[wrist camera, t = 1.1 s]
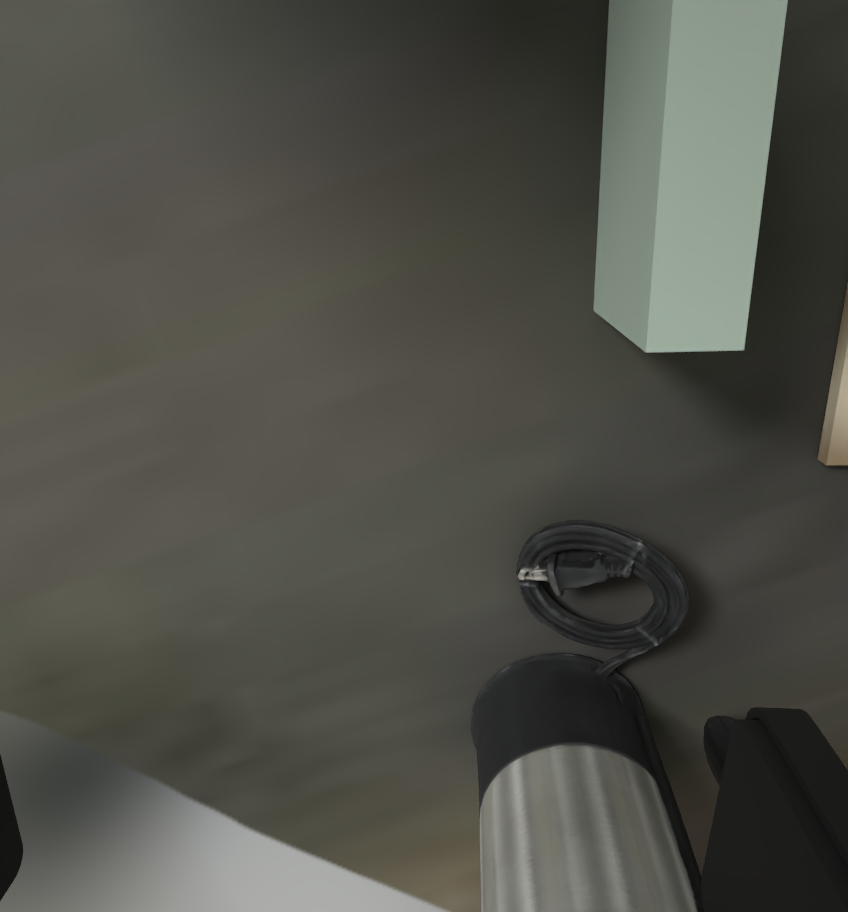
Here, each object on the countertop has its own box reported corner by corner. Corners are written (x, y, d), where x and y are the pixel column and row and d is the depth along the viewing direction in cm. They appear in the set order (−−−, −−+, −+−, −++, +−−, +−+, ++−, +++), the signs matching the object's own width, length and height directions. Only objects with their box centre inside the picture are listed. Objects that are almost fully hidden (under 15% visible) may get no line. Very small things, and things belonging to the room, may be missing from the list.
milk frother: (518, 810, 40) (550, 1134, 26) (369, 603, 36) (314, 859, 22) (755, 711, 37) (934, 1019, 23) (623, 473, 33) (746, 674, 19)
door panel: (609, -13, 26) (681, -115, 18) (690, -17, 26) (803, -122, 18) (593, 310, 30) (645, 352, 22) (663, 308, 30) (744, 350, 22)
